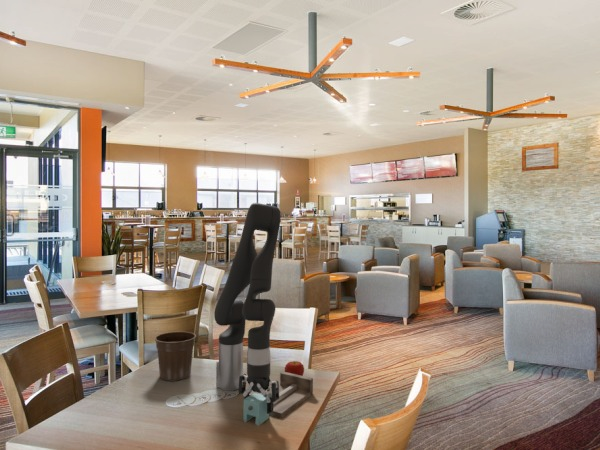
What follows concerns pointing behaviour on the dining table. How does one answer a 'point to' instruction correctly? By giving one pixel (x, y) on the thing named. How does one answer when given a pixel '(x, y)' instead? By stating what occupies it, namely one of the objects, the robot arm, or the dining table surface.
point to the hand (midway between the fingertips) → (258, 410)
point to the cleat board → (291, 393)
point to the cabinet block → (255, 408)
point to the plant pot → (175, 354)
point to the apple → (295, 368)
